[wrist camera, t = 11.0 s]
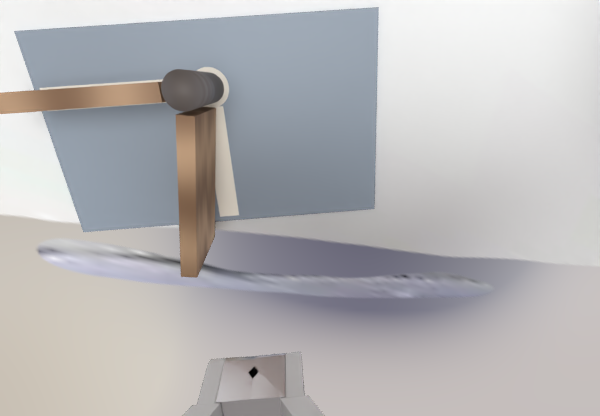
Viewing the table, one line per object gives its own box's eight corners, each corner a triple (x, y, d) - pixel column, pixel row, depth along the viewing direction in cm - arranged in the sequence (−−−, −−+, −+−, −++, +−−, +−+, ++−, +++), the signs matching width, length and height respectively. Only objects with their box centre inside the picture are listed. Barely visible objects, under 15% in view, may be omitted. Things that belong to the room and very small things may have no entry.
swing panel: (214, 236, 31) (197, 277, 25) (202, 235, 31) (181, 276, 25) (215, 107, 27) (194, 116, 21) (201, 106, 27) (175, 114, 20)
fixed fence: (221, 71, 26) (198, 67, 19) (226, 102, 27) (205, 110, 20) (38, 84, 26) (-58, 85, 19) (49, 114, 27) (-40, 127, 20)
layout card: (377, 8, 26) (378, 7, 25) (373, 207, 32) (374, 209, 32) (17, 31, 25) (13, 30, 25) (85, 230, 31) (82, 232, 31)
